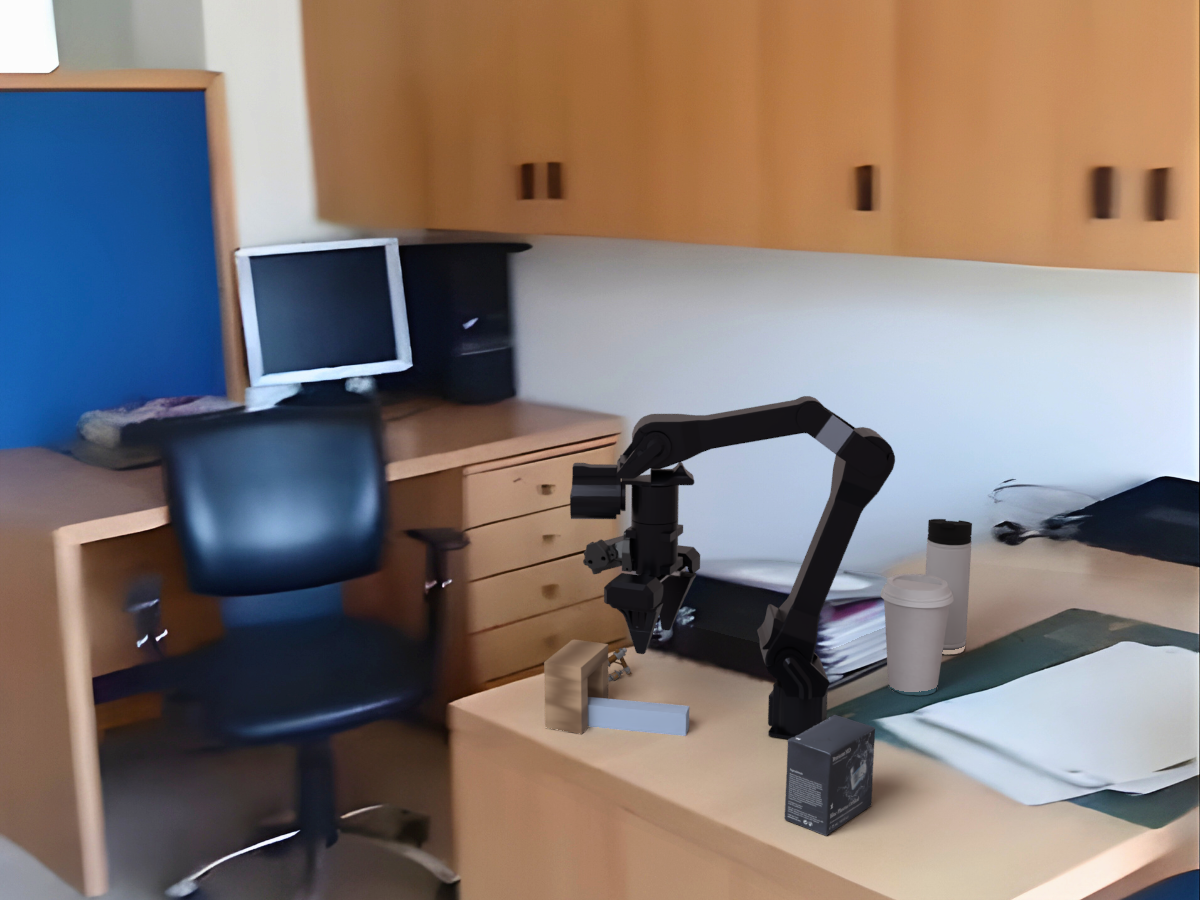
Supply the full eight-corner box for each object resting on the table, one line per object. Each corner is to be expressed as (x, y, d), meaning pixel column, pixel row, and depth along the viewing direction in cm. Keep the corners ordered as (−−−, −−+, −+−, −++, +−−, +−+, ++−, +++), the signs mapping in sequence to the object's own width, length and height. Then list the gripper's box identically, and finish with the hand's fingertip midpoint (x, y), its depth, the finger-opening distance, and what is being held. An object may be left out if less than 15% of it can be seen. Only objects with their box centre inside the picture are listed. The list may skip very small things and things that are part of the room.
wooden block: (608, 707, 163) (608, 644, 162) (581, 734, 155) (581, 667, 154) (573, 702, 165) (572, 639, 164) (545, 728, 157) (544, 662, 155)
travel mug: (918, 653, 183) (925, 521, 179) (925, 639, 189) (931, 511, 185) (962, 658, 180) (970, 525, 177) (967, 644, 186) (974, 514, 183)
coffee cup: (963, 689, 169) (969, 583, 166) (919, 706, 163) (924, 597, 160) (905, 669, 177) (910, 567, 174) (862, 685, 171) (866, 580, 168)
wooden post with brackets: (639, 672, 174) (627, 646, 172) (591, 703, 171) (579, 677, 170) (633, 667, 175) (621, 642, 174) (586, 698, 173) (573, 672, 171)
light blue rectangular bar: (689, 729, 157) (689, 705, 157) (685, 738, 155) (685, 714, 154) (567, 718, 161) (566, 695, 160) (561, 726, 158) (561, 702, 158)
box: (827, 838, 130) (830, 753, 128) (782, 821, 133) (785, 738, 131) (873, 807, 136) (877, 726, 134) (830, 791, 140) (832, 712, 138)
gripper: (620, 497, 163) (620, 611, 166) (562, 530, 146) (563, 657, 149) (702, 504, 158) (700, 621, 161) (652, 540, 141) (651, 670, 144)
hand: (653, 641), depth 154 cm, fingers open, 9 cm apart
